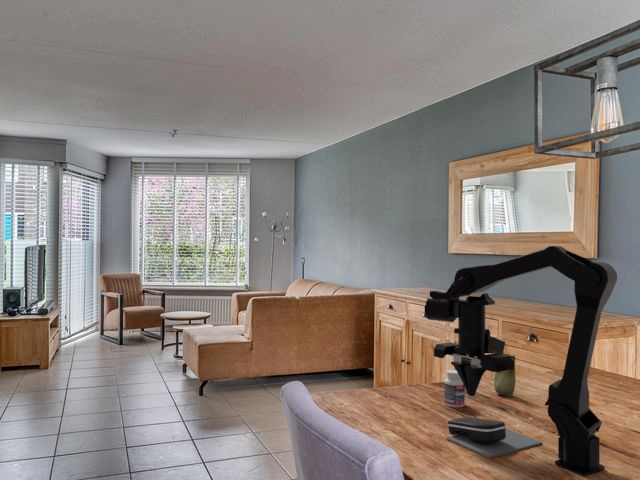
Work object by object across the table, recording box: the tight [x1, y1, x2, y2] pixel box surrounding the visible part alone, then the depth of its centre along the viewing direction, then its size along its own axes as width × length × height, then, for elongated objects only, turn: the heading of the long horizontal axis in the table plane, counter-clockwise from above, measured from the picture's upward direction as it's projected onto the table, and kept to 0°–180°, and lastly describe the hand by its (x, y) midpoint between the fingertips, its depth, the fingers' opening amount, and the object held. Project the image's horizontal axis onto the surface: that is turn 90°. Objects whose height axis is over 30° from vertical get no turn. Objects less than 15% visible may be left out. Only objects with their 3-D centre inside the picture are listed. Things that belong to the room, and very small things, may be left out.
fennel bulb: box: [493, 352, 517, 397], centre depth 154 cm, size 6×5×12 cm
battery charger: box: [447, 416, 507, 443], centre depth 118 cm, size 7×4×11 cm
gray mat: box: [446, 428, 543, 459], centre depth 117 cm, size 12×16×1 cm
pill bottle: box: [443, 369, 466, 408], centre depth 145 cm, size 5×5×9 cm
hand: (471, 395), depth 119 cm, fingers closed
